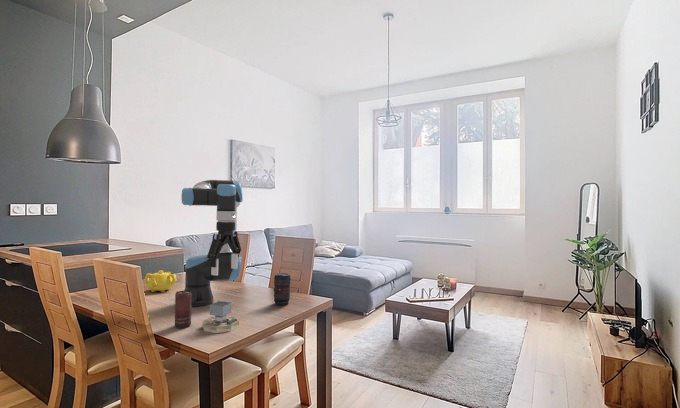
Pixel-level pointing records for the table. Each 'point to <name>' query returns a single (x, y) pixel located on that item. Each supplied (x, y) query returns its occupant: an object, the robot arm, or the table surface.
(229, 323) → the ring
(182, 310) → the can
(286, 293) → the camera lens
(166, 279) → the teapot
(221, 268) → the robot arm
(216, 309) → the bushing
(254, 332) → the table surface
